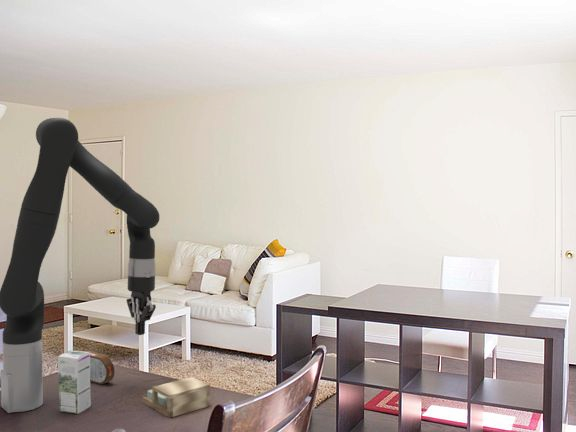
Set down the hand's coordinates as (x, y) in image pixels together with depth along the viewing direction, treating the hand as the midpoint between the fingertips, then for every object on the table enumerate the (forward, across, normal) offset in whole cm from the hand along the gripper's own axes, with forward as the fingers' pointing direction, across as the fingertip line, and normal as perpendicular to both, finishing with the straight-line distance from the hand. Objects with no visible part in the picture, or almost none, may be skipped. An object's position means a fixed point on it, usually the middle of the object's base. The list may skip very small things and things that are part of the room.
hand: (140, 334), depth 165 cm
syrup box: (+16, +5, -21) cm, 26 cm away
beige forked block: (+15, +19, 0) cm, 24 cm away
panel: (+15, +17, +1) cm, 23 cm away
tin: (+16, -13, -7) cm, 22 cm away
